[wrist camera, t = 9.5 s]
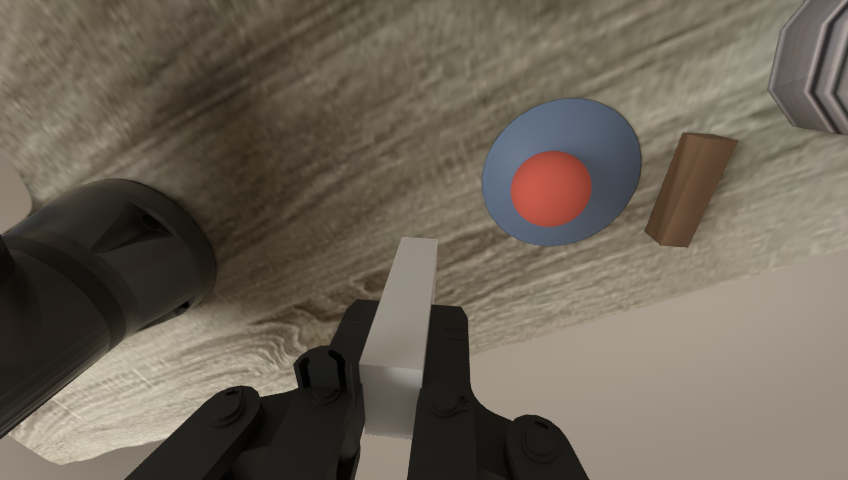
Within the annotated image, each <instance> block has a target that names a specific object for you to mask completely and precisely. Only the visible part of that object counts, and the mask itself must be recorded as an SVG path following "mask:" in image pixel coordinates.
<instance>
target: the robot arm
mask: <svg viewBox="0 0 848 480" xmlns="http://www.w3.org/2000/svg"><path fill="white" fill-rule="evenodd" d="M437 250H438V239H428V238H414V237H402V238H401V241H400V244H399V247H398V250H397V253H396V256H395V259H394V262H393V265H392V268H391V270H390V273H389V276H388V279H387V282H386V285H385V288H384V291H383V294H382V297H381V300H380V301H373V300H361V299H357V300H356V301H355V302H354V303H353V304H352V305H350V306H349V307H348V308H347V309H346V312H345V314H344V316H343V318H342V321H341V322H340V324H339V327H338V329H337V332H336V333H335V335H334V337H333V339H332V341H331V344H330V345H327V346H319V347H316V348H313V349H310V350H308V351H307V352H305V353H304V354H302V355H301V356H300V357H299V358H298V359H297V360H296V362H295V363H294V364H293V366H294V370H295V374H296V379H297V383H298V388H296V389H294V390H292V391H288V392H285V393H279V394H274V395H269V396H264V397H260V396H259V394H258V392H257V391H256V390H255V389H253V388H252V387H249V386H242V385H241V386H235V387H230V388H227V389H225V390H223V391H221V392H218V393H216V394H215V395H214V396H213V397H211V398H210V399H209V400H207V401H206V402H205V403H204V404H203V405H202V406H201V407H200V408H199V409H198V410H196V411H195V412H194V413H193V414H192V415H191V416H190V417H189V418H188V419H187V420H186V421H185V422H184V423H183V424H182V425H181V426H180V427H179V428H178V429H177V430H176V431H175V432H173V433H172V434H171V435H170V436H169V437H168V438H167V439H166V440H165V441H164V442H163V443H162V444H161V445H160V446H159V447H158V448H157V449H156V450H155V451H154V452H153V453H151V454H150V455H149V456H148V458H146V459H145V460H144V461H143V462H142V463H141V464H140V465H139V466H138V467H137V468H136V469H135V470H134V471H133V472H132V473H131V474H130V475H128V477H126V478H125V479H124V480H354V479H355V475H356V471H357V467H358V463H359V459H360V439H361V435H362V431H363V428H364V425H365V434H370V435H378V436H387V437H396V438H405V439H412V446H411V453H410V461H409V468H408V477H407V480H589V478H588V477H587V475H586V473H585V471H584V469H583V467H582V465H581V463H580V461H579V459H578V458H577V456H576V454H575V452H574V450H573V448H572V446H571V444H570V443H569V441H568V439H567V438H566V436H565V435H564V434H563V432H562V431H561V430H560V428H558V427H557V426H556V425H554V424H553V423H552V422H551V421H549V420H547V419H545V418H543V417H540V416H537V415H523V416H520V417H517V418H515V419H514V421H511V420H509V419H506V418H504V417H502V416H499V415H497V414H495V413H493V412H491V411H489V410H488V409H486V408H485V407H484V406H483V405H482V404H480V403H479V401H478V400H477V399H476V397H475V396H474V394H473V392H472V389H471V384H470V366H469V365H470V364H469V337H468V318H467V316H466V314H465V313H464V311H463V309H462V308H461V307H456V306H444V305H434V298H435V286H436V268H437ZM215 278H216V265H215V259H214V256H213V253H212V250H211V248H210V245H209V243H208V241H207V240H206V238H205V236H204V235H203V233H202V232H201V230H200V229H199V227H198V226H197V225H196V224H195V222H194V221H193V220H192V219H191V218H190V217H189V216H188V215H187V214H186V213H185V212H184V211H183V210H182V209H181V208H180V207H178V206H177V205H176V204H175V203H173V202H172V201H170V200H169V199H168V198H166V197H165V196H163V195H161V194H160V193H158V192H156V191H154V190H152V189H150V188H148V187H146V186H143V185H140V184H138V183H134V182H131V181H126V180H120V179H104V180H99V181H95V182H92V183H88V184H85V185H82V186H78V187H75V188H73V189H70V190H68V191H66V192H64V193H63V194H61V195H60V196H59V197H57V198H56V199H54V200H53V201H52V202H50V203H49V204H48V205H46V206H45V207H43V208H42V209H41V210H39V211H38V212H37V213H35V214H34V215H33V216H31V217H30V218H28V219H27V220H26V221H24V222H23V223H22V224H20V225H19V226H17V227H16V228H15V229H13V230H12V231H11V232H9V233H7V234H5V235H3V236H1V235H0V439H1V438H2V437H4V436H5V435H6V434H8V433H9V432H10V431H11V430H12V429H14V428H15V427H16V426H17V425H19V424H20V423H21V422H22V421H24V420H25V419H26V418H27V417H29V416H30V415H31V414H32V413H33V412H35V411H36V410H37V409H38V408H40V407H41V406H42V405H43V404H45V403H46V402H47V401H48V400H50V399H51V398H52V397H53V396H55V395H56V394H57V393H58V392H59V391H61V390H62V389H63V388H64V387H66V386H67V385H68V384H69V383H71V382H72V381H73V380H74V379H76V378H77V377H78V376H79V375H80V374H82V373H83V372H84V371H85V370H87V369H88V368H89V367H90V366H92V365H93V364H94V363H95V362H97V361H98V360H99V359H100V358H101V357H103V356H104V355H105V354H106V353H108V352H109V351H110V350H112V349H113V348H114V347H115V346H117V345H118V344H119V343H121V342H122V341H123V340H125V339H126V338H128V337H130V336H133V335H135V334H137V333H140V332H142V331H144V330H147V329H149V328H151V327H154V326H156V325H158V324H161V323H163V322H165V321H168V320H170V319H172V318H175V317H177V316H179V315H181V314H184V313H185V312H187V311H189V310H190V309H192V308H193V307H194V306H195V305H196V304H198V303H199V302H200V301H201V300H202V299H203V298H205V297H206V296H207V295H208V294H209V292H210V291H211V289H212V288H213V285H214V282H215Z"/></svg>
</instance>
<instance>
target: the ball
mask: <svg viewBox="0 0 848 480" xmlns="http://www.w3.org/2000/svg"><path fill="white" fill-rule="evenodd" d="M591 187H592V186H591V178H590V175H589V173H588V170H587V169H586V167H585V166H584V164H583V163H582V162H581V161H580V160H578V159H577V158H576V157H574V156H572V155H570V154H568V153H565V152H561V151H546V152H541V153H538V154H536V155H534V156H532V157H530V158H529V159H527V160H526V161H525V162H524V163H523V164H522V165H521V166H520V167H519V168H518V170H517V171H516V173H515V175H514V177H513V180H512V184H511V198H512V202H513V205H514V207H515V209H516V210H517V212H518V213H519V214H520V215H521V216H522V217H523V218H524V219H525V220H527V221H528V222H530V223H532V224H535V225H538V226H543V227H555V226H559V225H563V224H566V223H568V222H570V221H572V220H573V219H575V218H576V217H577V216H578V215H579V214H580V213H581V212H582V211H583V210H584V208H585V207H586V205H587V203H588V201H589V199H590V195H591Z"/></svg>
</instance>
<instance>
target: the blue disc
mask: <svg viewBox="0 0 848 480" xmlns="http://www.w3.org/2000/svg"><path fill="white" fill-rule="evenodd" d="M546 151H561V152H565V153H568V154H570V155H572V156H574V157H576V158H577V159H578V160H580V161H581V162H582V163H583V164H584V166H585V167H586V169H587V170H588V173H589V175H590V178H591V186H592V187H591V195H590V199H589V201H588V203H587V205H586V207H585V208H584V210H583V211H582V212H581V213H580V214H579V215H578V216H577V217H576V218H575V219H573V220H572V221H570V222H568V223H566V224H563V225H559V226H555V227H543V226H538V225H535V224H532V223H530V222H528V221H527V220H525V219H524V218H523V217H522V216H521V215H520V214H519V213H518V212H517V210H516V209H515V207H514V205H513V202H512V198H511V184H512V180H513V177H514V175H515V173H516V171H517V170H518V168H519V167H520V166H521V165H522V164H523V163H524V162H525V161H526V160H527V159H529V158H530V157H532V156H534V155H536V154H538V153H541V152H546ZM640 168H641V154H640V148H639V144H638V141H637V138H636V135H635V134H634V132H633V130H632V128H631V127H630V125H629V124H628V123H627V121H626V120H625V119H624V118H623V117H622V116H621V115H619V114H618V113H617V112H616V111H614V110H613V109H611V108H609V107H608V106H605V105H603V104H601V103H598V102H594V101H590V100H586V99H577V98H574V99H560V100H554V101H550V102H547V103H544V104H541V105H539V106H536V107H534V108H532V109H530V110H528V111H527V112H525V113H523V114H522V115H520V116H519V117H518V118H516V119H515V120H514V121H512V122H511V123H510V124H509V125H508V126H507V127H506V128H505V129H504V130H503V132H502V133H501V134H500V135H499V136H498V138H497V139H496V141H495V142H494V144H493V146H492V147H491V149H490V152H489V154H488V156H487V159H486V162H485V165H484V170H483V176H482V188H483V196H484V200H485V204H486V206H487V209H488V211H489V213H490V214H491V216H492V218H493V219H494V221H495V222H496V223H497V224H498V225H499V226H500V227H501V228H502V229H503V230H504V231H505V232H507V233H508V234H509V235H511V236H513V237H515V238H516V239H518V240H521V241H523V242H526V243H530V244H534V245H541V246H558V245H565V244H570V243H574V242H577V241H580V240H583V239H585V238H587V237H590V236H591V235H593V234H595V233H597V232H599V231H600V230H601V229H603V228H604V227H606V226H607V225H608V224H609V223H611V222H612V221H613V220H614V219H615V218H616V217H617V216H618V215H619V214H620V213H621V212H622V210H623V209H624V208H625V206H626V205H627V203H628V202H629V200H630V198H631V197H632V195H633V193H634V190H635V188H636V186H637V182H638V179H639V175H640Z"/></svg>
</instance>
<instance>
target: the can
mask: <svg viewBox="0 0 848 480" xmlns="http://www.w3.org/2000/svg"><path fill="white" fill-rule="evenodd" d="M767 90H768V92H769V93H770V94H771V96H772V97H773V99H774V100H775V102H776V103H777V105H778V106H779V108H780V109H781V111H782V112H783V113H784V115H785V116H786V118H787V119H788V121H789V122H790V124H791V125H792V126H795V127H801V128H807V129H813V130H819V131H825V132H832V133H838V134H844V135H848V0H805V1H804V2H803V4H802V5H801V6H800V7H799V8H798V10H797V11H796V12H795V13H794V14H793V16H792V17H791V18H790V19H789V21H788V22H787V23H786V24H785V25H784V27H783V28H782V29H781V30H780V35H779V39H778V44H777V48H776V53H775V57H774V62H773V66H772V71H771V75H770V80H769V84H768V89H767Z"/></svg>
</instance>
